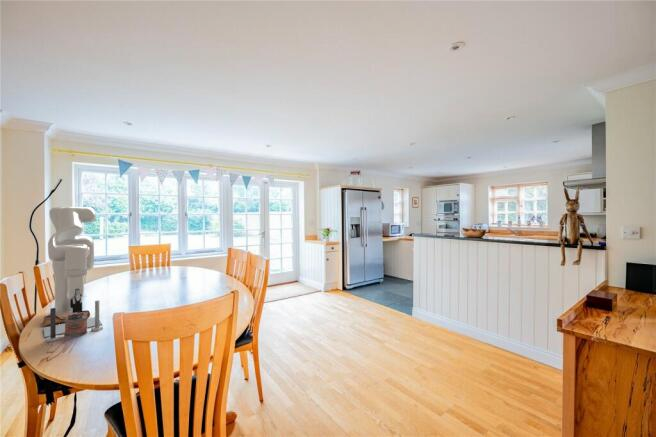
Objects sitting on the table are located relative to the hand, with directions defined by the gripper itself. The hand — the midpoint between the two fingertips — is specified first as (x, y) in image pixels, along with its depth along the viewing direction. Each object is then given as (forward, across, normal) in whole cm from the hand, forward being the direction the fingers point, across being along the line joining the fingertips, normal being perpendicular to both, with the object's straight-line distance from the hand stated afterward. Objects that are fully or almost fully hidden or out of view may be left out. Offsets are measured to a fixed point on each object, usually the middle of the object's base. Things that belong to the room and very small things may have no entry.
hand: (76, 309), depth 125 cm
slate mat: (+12, -13, 0) cm, 17 cm away
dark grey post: (+12, -1, -8) cm, 14 cm away
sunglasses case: (+12, -25, -2) cm, 28 cm away
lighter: (+12, -1, 0) cm, 12 cm away
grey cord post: (+12, -1, +8) cm, 14 cm away
